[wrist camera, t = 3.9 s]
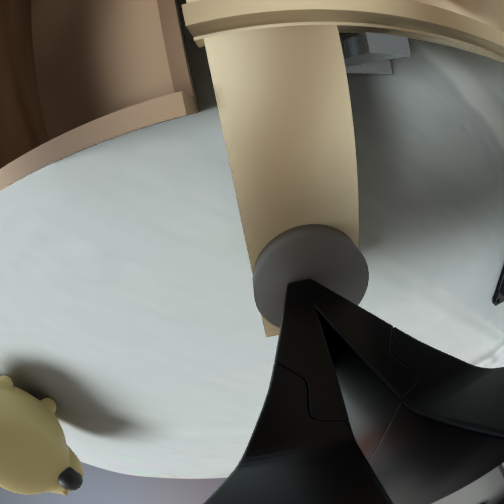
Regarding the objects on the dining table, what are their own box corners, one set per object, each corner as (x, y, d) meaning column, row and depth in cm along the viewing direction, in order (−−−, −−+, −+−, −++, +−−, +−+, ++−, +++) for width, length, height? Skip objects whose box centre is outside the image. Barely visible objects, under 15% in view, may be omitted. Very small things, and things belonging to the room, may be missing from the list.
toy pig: (58, 433, 21) (43, 509, 12) (-24, 366, 16) (-58, 446, 6) (110, 427, 20) (97, 527, 11) (7, 344, 14) (-41, 457, 5)
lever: (499, -31, 3) (529, -36, 1) (513, 255, 11) (538, 277, 9) (173, -82, 4) (160, -117, 1) (257, 320, 11) (262, 366, 9)
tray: (164, -74, 5) (147, -127, 1) (199, 112, 10) (186, 114, 6) (26, -12, 5) (-27, -31, 1) (49, 164, 10) (-14, 198, 6)
